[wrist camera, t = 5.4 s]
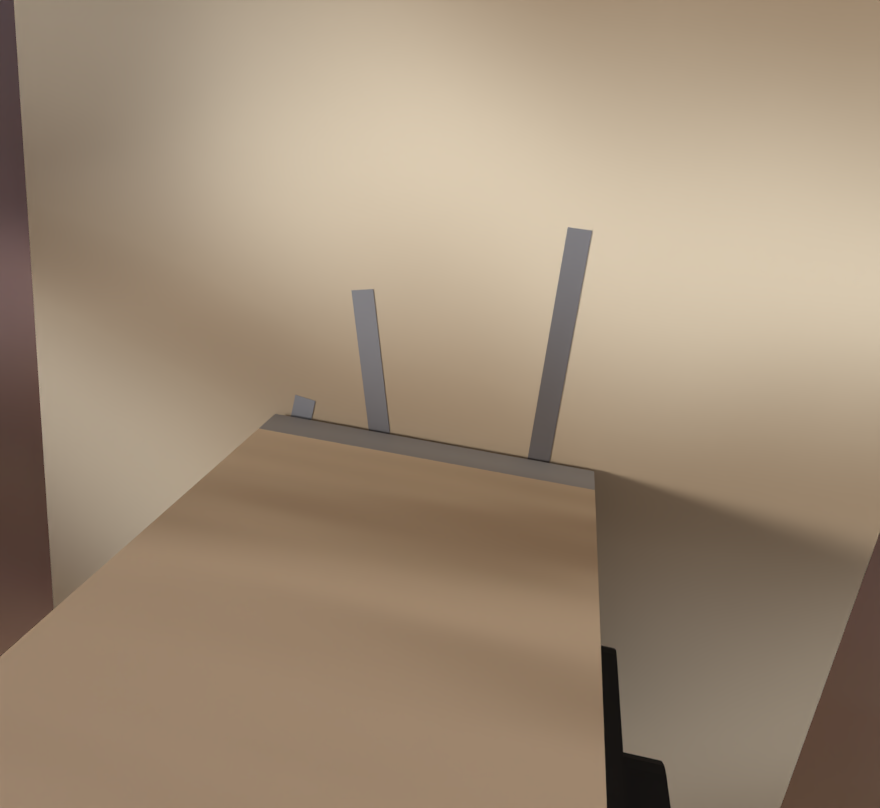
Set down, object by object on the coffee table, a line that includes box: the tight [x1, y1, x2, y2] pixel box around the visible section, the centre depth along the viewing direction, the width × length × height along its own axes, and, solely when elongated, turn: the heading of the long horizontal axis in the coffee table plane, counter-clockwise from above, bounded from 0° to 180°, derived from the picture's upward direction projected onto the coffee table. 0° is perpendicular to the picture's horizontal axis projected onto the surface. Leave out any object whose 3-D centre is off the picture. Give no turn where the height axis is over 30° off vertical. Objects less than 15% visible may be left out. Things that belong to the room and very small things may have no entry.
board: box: [14, 0, 880, 808], centre depth 11 cm, size 18×12×1 cm, turn 173°
